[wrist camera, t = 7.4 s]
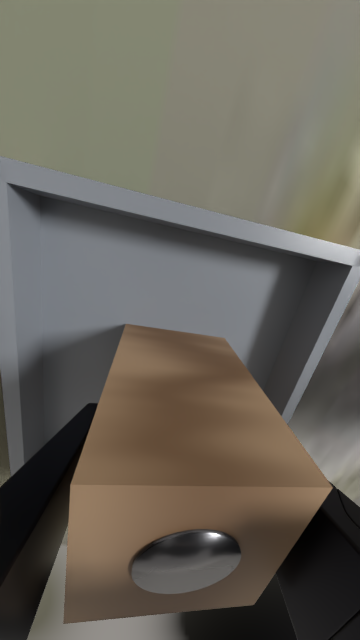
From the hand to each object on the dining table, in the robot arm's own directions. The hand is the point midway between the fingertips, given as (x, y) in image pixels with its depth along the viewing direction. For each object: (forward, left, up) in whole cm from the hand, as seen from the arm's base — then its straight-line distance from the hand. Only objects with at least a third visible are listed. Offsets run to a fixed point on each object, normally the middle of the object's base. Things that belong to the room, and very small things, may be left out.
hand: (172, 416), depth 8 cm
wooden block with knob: (0, 0, -3) cm, 3 cm away
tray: (0, 0, -4) cm, 4 cm away
